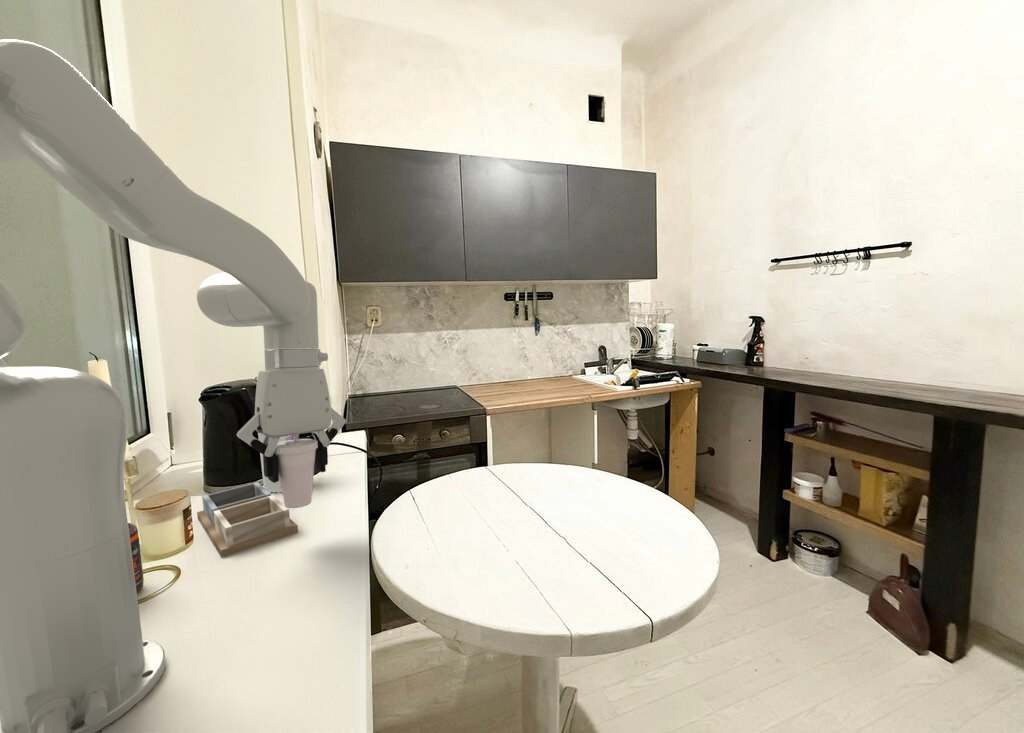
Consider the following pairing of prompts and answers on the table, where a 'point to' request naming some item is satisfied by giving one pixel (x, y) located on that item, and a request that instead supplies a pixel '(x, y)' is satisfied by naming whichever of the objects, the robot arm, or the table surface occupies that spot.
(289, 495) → the smoothie
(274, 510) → the organizer
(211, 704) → the table surface
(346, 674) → the table surface
